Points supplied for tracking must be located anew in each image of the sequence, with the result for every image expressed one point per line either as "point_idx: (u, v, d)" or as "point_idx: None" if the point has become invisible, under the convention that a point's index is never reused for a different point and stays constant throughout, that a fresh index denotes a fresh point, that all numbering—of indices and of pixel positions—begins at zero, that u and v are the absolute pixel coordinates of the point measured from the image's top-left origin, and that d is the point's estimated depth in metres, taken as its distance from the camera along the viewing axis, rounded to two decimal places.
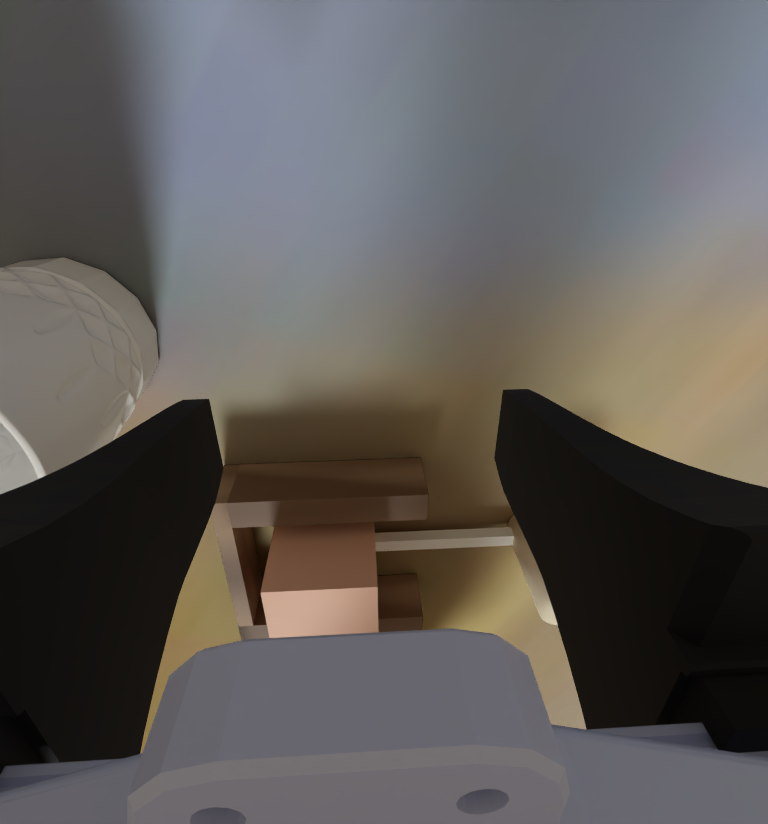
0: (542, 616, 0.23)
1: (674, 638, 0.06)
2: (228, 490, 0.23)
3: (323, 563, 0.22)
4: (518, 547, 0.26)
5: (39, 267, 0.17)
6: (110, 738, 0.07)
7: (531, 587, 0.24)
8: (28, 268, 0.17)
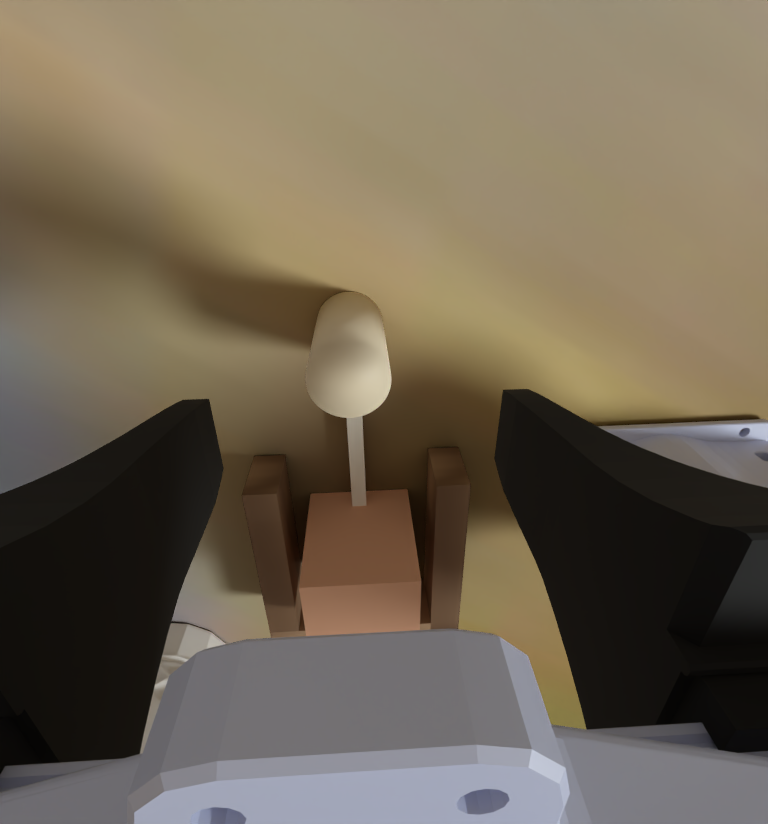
0: (370, 409, 0.16)
1: (674, 638, 0.06)
2: None
3: None
4: None
5: None
6: (110, 738, 0.07)
7: None
8: None
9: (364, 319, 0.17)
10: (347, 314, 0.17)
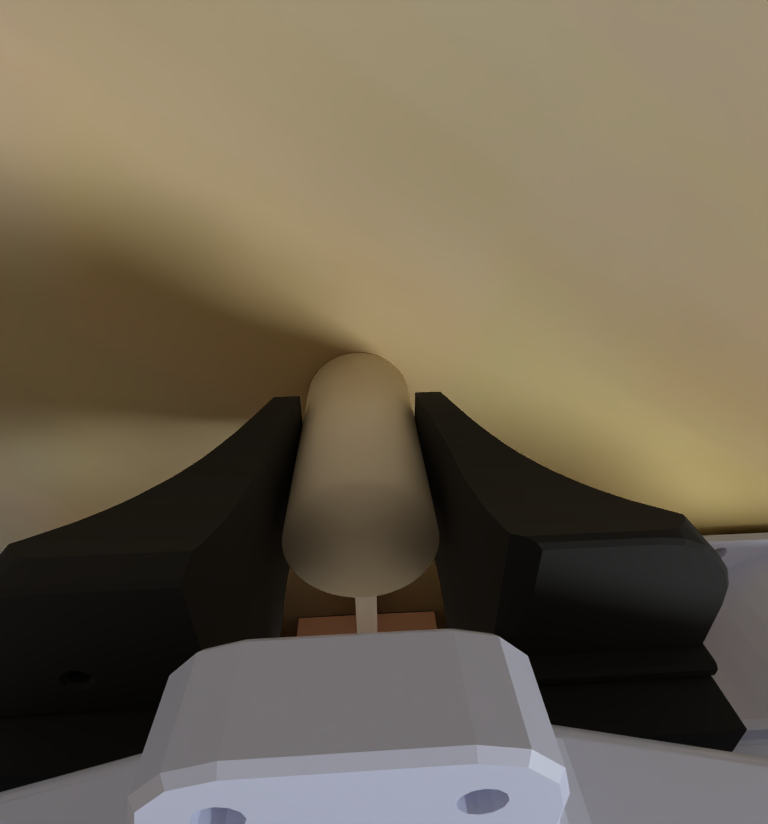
0: (398, 585, 0.09)
1: None
2: None
3: None
4: None
5: None
6: None
7: None
8: None
9: (387, 417, 0.10)
10: (358, 406, 0.10)
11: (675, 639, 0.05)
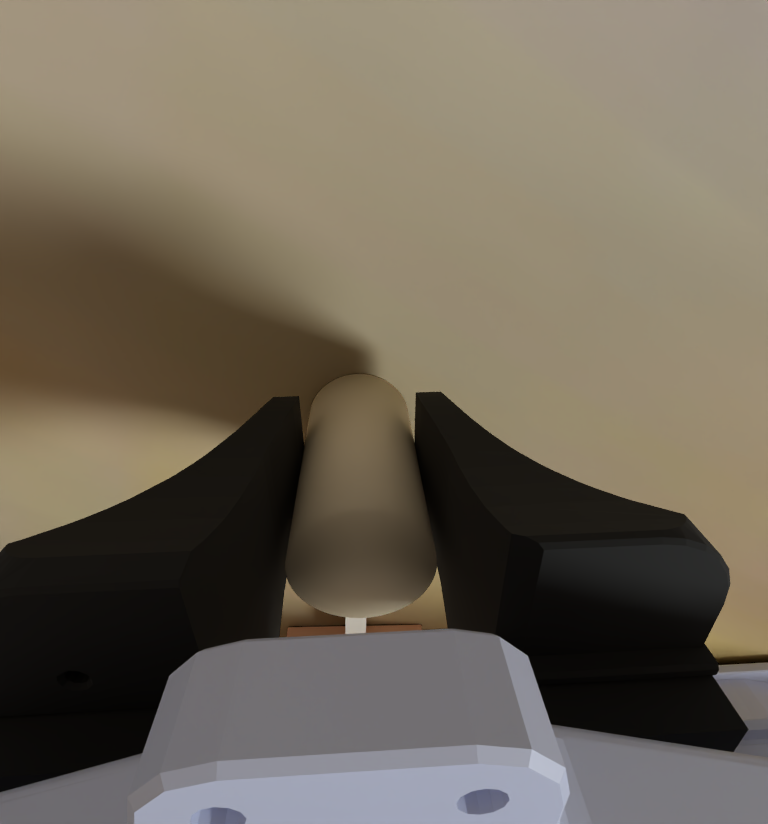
0: (394, 607, 0.09)
1: None
2: None
3: None
4: None
5: None
6: None
7: None
8: None
9: (390, 443, 0.10)
10: (362, 430, 0.10)
11: (676, 639, 0.05)
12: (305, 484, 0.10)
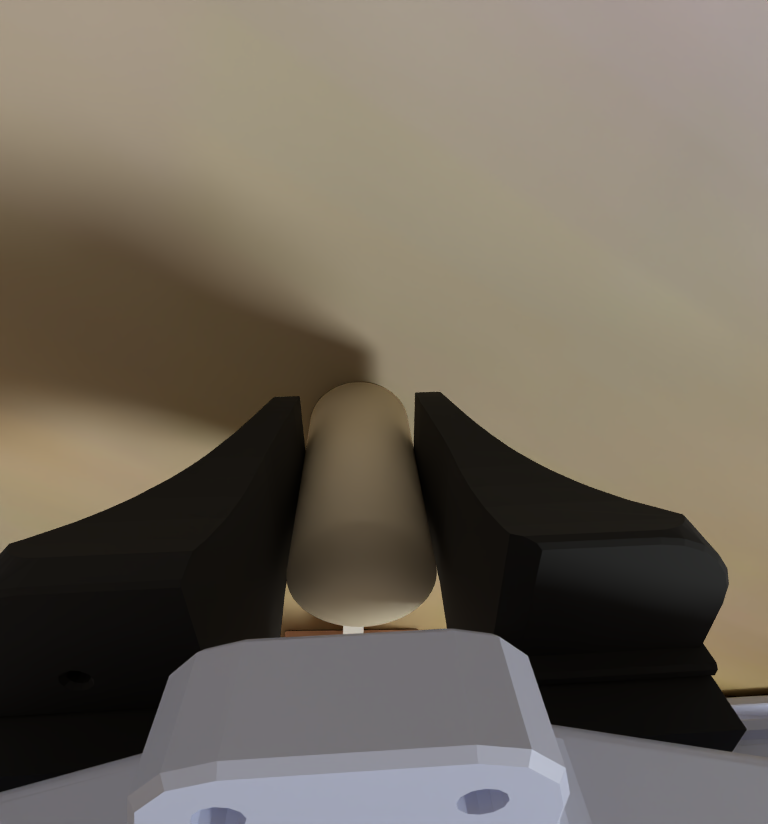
0: (394, 616, 0.10)
1: None
2: None
3: None
4: None
5: None
6: None
7: None
8: None
9: (390, 453, 0.10)
10: (363, 440, 0.11)
11: (675, 639, 0.05)
12: (307, 494, 0.10)
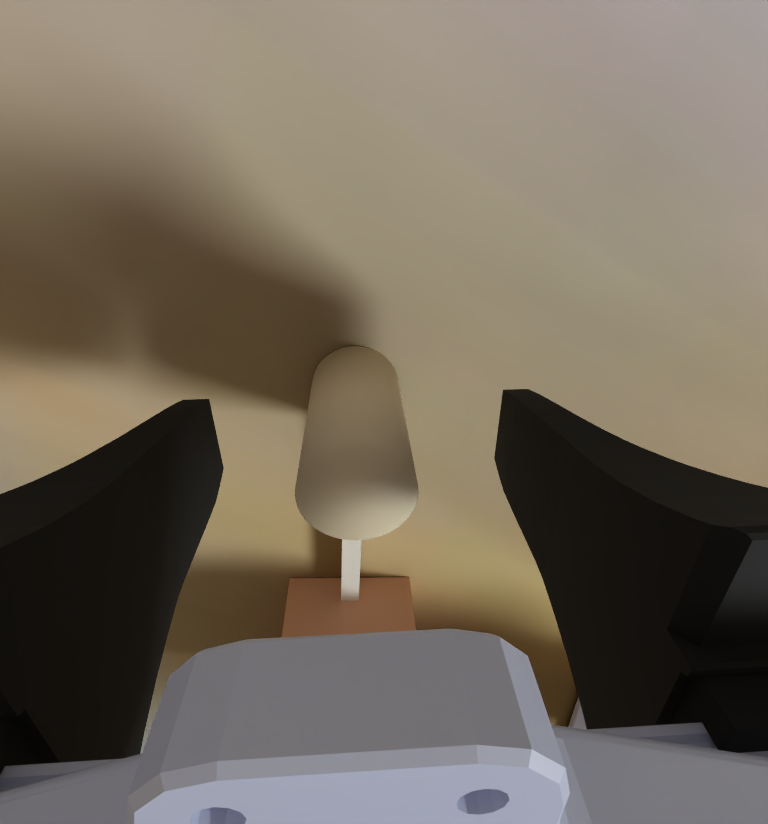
0: (384, 531, 0.12)
1: (674, 638, 0.06)
2: None
3: None
4: None
5: None
6: (110, 738, 0.07)
7: None
8: None
9: (381, 399, 0.12)
10: (358, 389, 0.12)
11: None
12: (311, 430, 0.12)
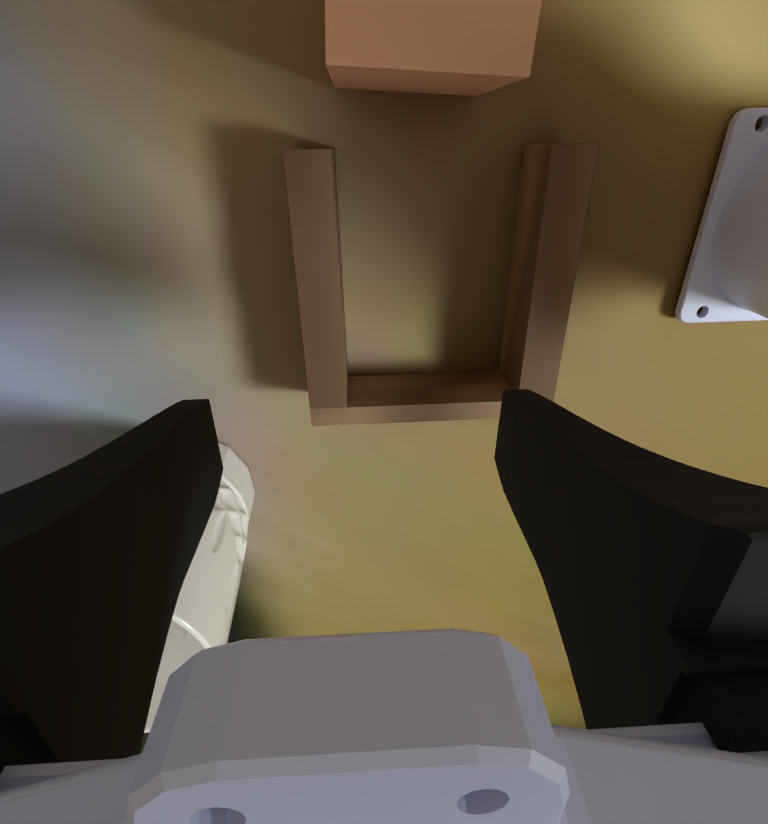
0: None
1: (674, 638, 0.06)
2: None
3: None
4: None
5: None
6: (110, 738, 0.07)
7: None
8: None
9: None
10: None
11: None
12: None
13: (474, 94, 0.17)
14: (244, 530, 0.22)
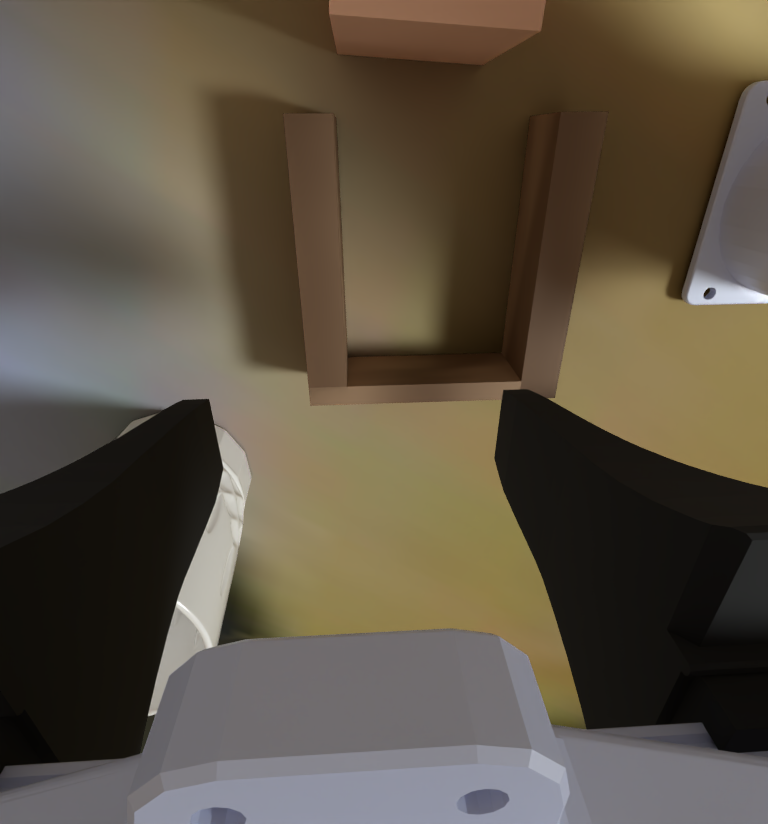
0: None
1: (674, 638, 0.06)
2: None
3: None
4: None
5: None
6: (110, 738, 0.07)
7: None
8: None
9: None
10: None
11: None
12: None
13: (480, 62, 0.16)
14: (240, 514, 0.21)
